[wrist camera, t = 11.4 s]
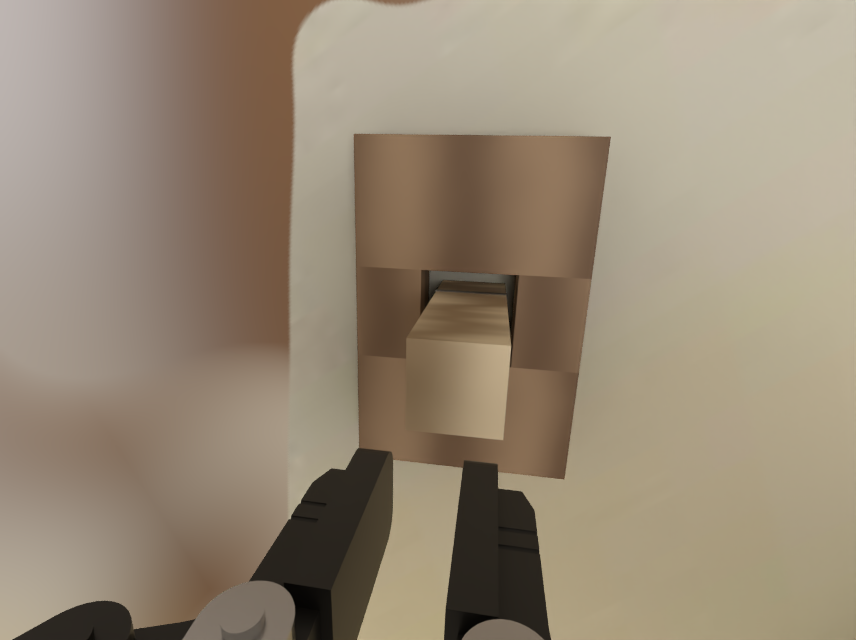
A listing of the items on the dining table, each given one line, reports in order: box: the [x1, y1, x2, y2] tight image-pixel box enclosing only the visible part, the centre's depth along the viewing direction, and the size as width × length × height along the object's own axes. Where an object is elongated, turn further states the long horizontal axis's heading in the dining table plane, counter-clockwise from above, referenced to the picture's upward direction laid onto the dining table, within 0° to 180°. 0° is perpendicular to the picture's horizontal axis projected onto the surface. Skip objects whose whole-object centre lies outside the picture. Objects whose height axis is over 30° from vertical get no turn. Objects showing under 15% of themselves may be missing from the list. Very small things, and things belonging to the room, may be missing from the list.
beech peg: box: [405, 280, 511, 440], centre depth 21 cm, size 4×4×11 cm
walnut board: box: [354, 134, 611, 479], centre depth 24 cm, size 12×18×3 cm, turn 178°
